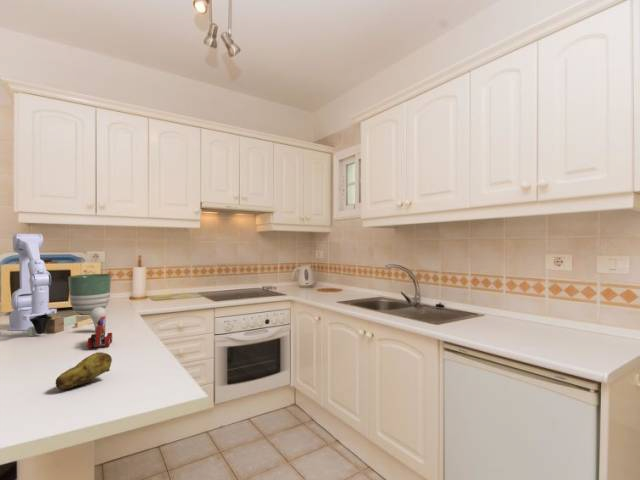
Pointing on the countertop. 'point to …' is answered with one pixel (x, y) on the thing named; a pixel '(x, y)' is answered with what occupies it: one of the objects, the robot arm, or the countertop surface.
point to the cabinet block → (54, 325)
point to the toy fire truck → (100, 335)
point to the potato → (85, 371)
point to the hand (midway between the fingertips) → (40, 333)
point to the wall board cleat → (68, 322)
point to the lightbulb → (97, 315)
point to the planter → (89, 292)
